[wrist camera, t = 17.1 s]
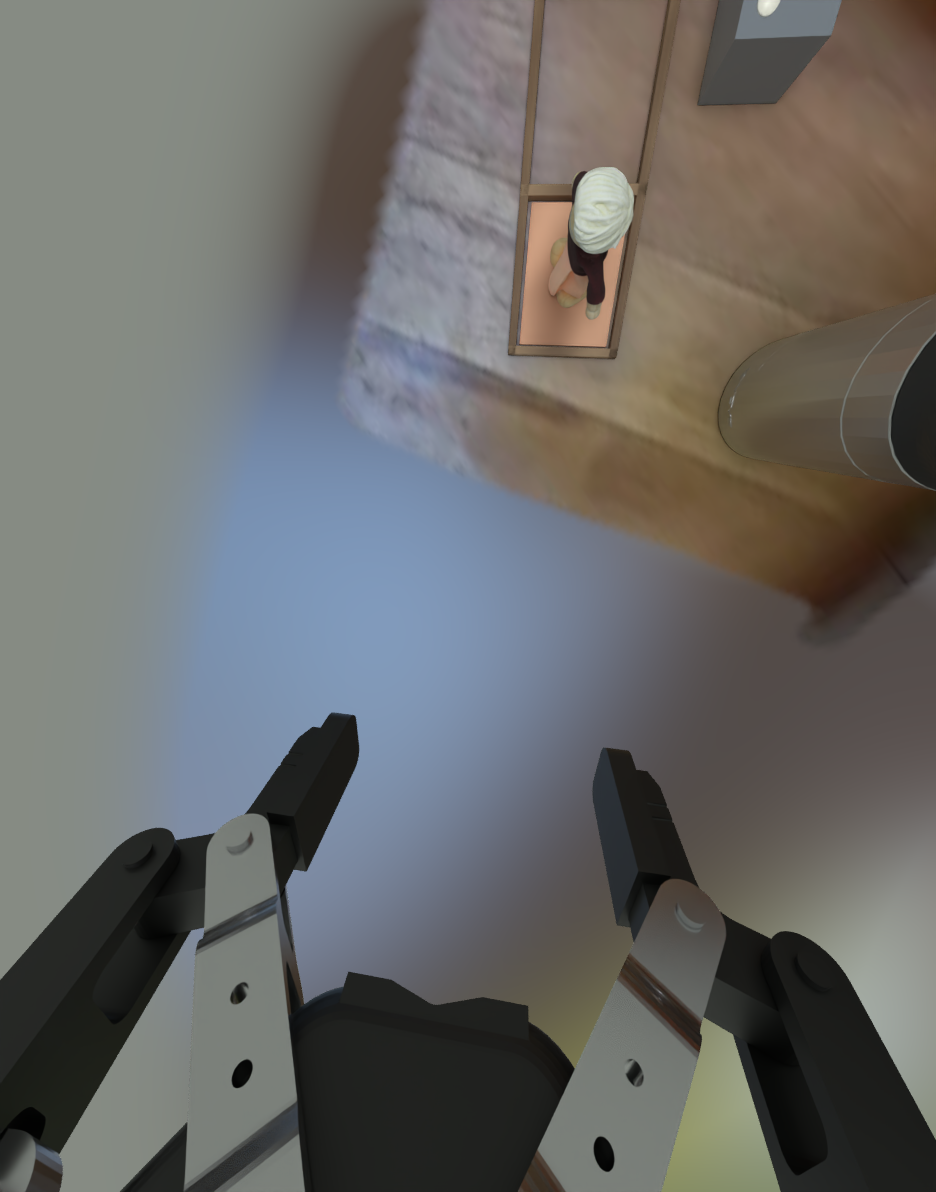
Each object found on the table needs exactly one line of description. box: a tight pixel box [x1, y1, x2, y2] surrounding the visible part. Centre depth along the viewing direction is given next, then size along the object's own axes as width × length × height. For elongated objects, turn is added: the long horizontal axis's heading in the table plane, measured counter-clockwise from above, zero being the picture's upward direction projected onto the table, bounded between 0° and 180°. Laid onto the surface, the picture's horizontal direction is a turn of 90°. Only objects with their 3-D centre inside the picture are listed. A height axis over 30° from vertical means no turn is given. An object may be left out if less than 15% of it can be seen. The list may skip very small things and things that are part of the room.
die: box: [698, 0, 841, 105], centre depth 22 cm, size 5×5×5 cm
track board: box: [508, 0, 681, 359], centre depth 26 cm, size 9×31×1 cm, turn 178°
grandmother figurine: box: [548, 167, 634, 320], centre depth 25 cm, size 8×4×13 cm, turn 26°
